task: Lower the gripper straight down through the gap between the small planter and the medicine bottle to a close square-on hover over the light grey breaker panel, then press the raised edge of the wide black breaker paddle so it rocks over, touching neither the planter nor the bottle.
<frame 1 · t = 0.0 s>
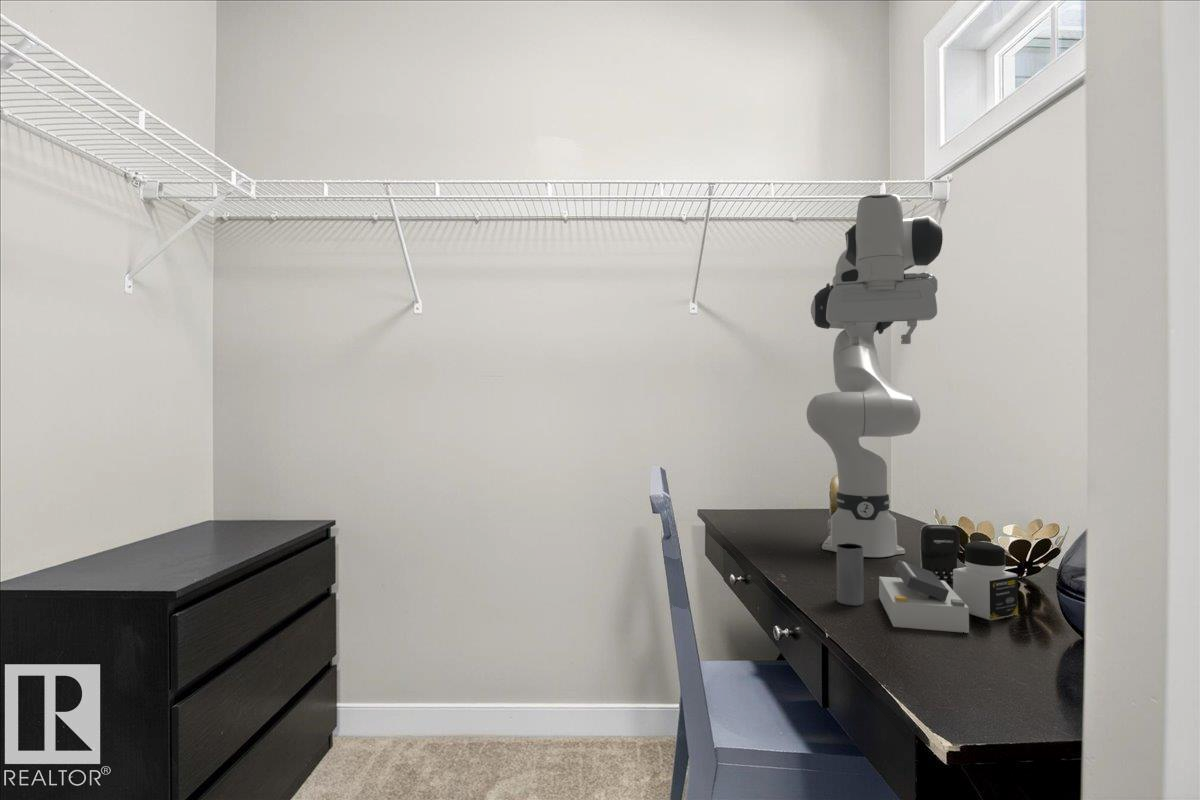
hand: (880, 344, 129), 48 cm above the table, tool pointing down, fingers open, 8 cm apart
paddle: (920, 578, 112), point 6 cm above the table, hinge at -18.0°
medicine bottle: (985, 613, 113), on the table
battery charger: (940, 582, 132), on the table
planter: (850, 603, 118), on the table
panel: (920, 613, 112), on the table
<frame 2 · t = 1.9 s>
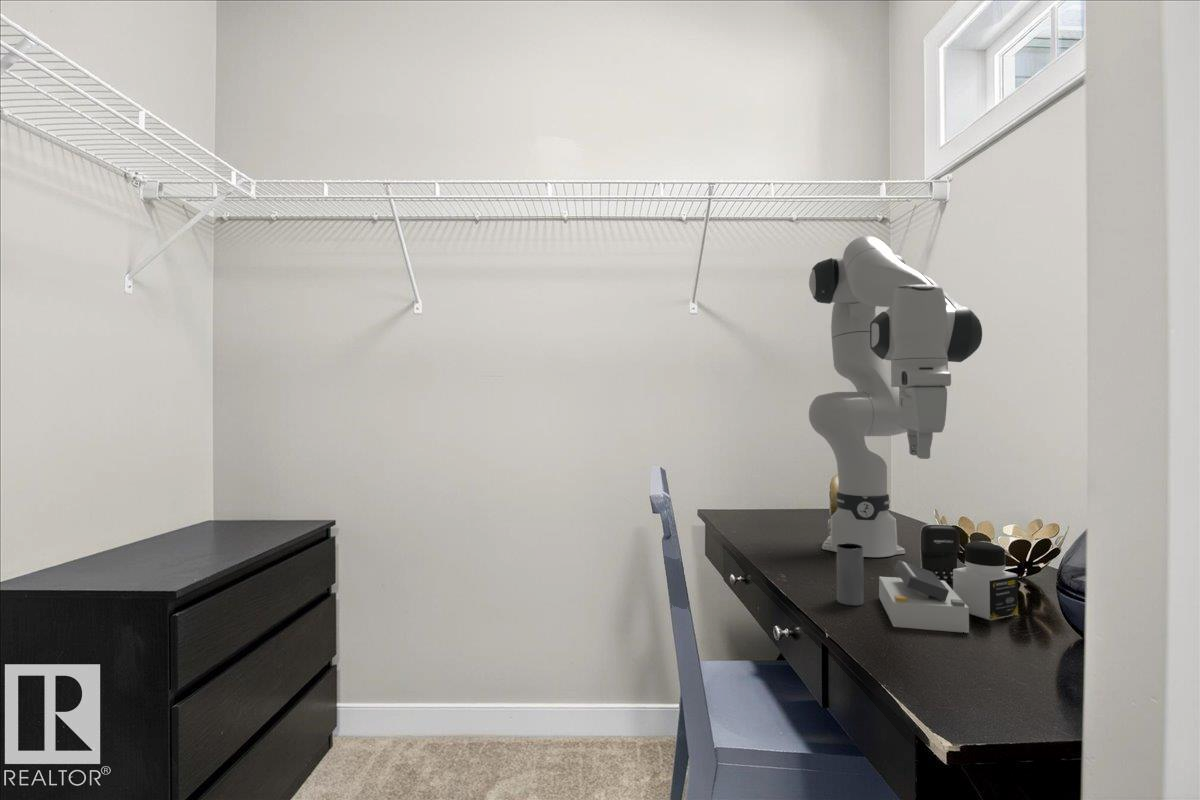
hand: (919, 456, 112), 27 cm above the table, tool pointing down, fingers open, 5 cm apart
nothing on the table moved.
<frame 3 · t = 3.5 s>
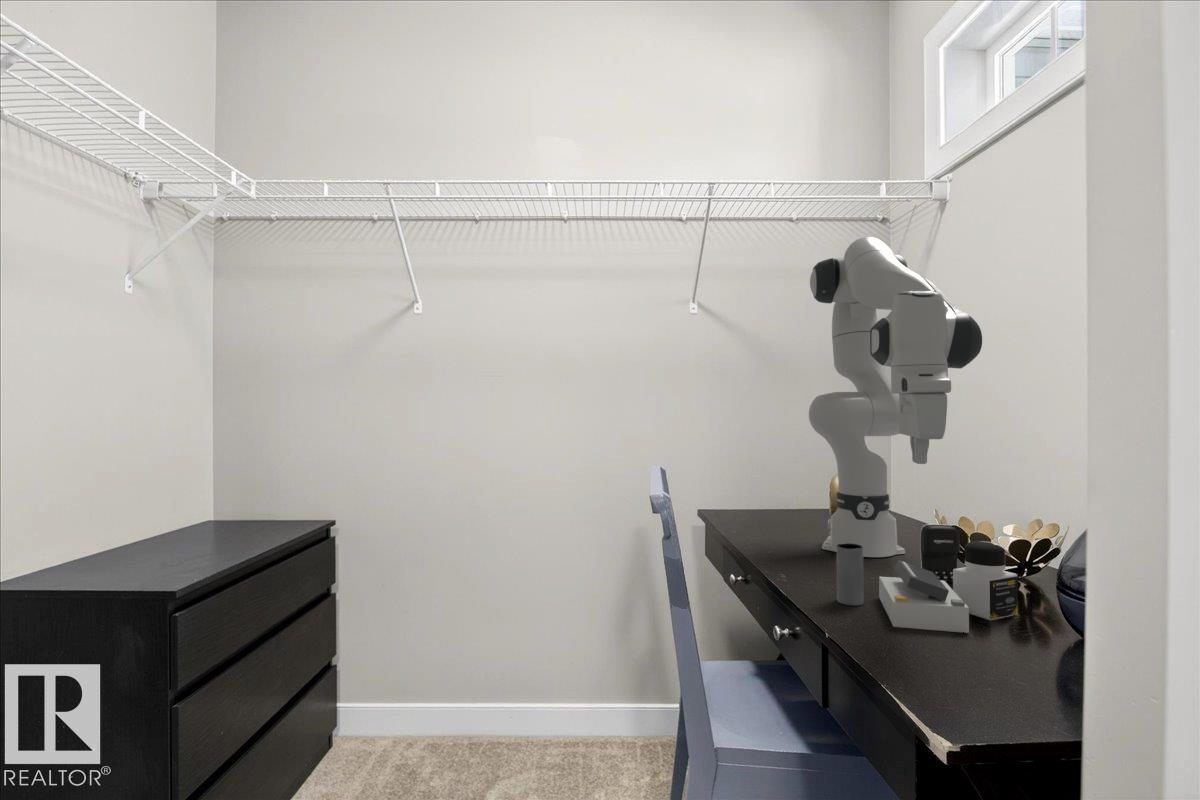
hand: (919, 463, 112), 26 cm above the table, tool pointing down, fingers closed
nothing on the table moved.
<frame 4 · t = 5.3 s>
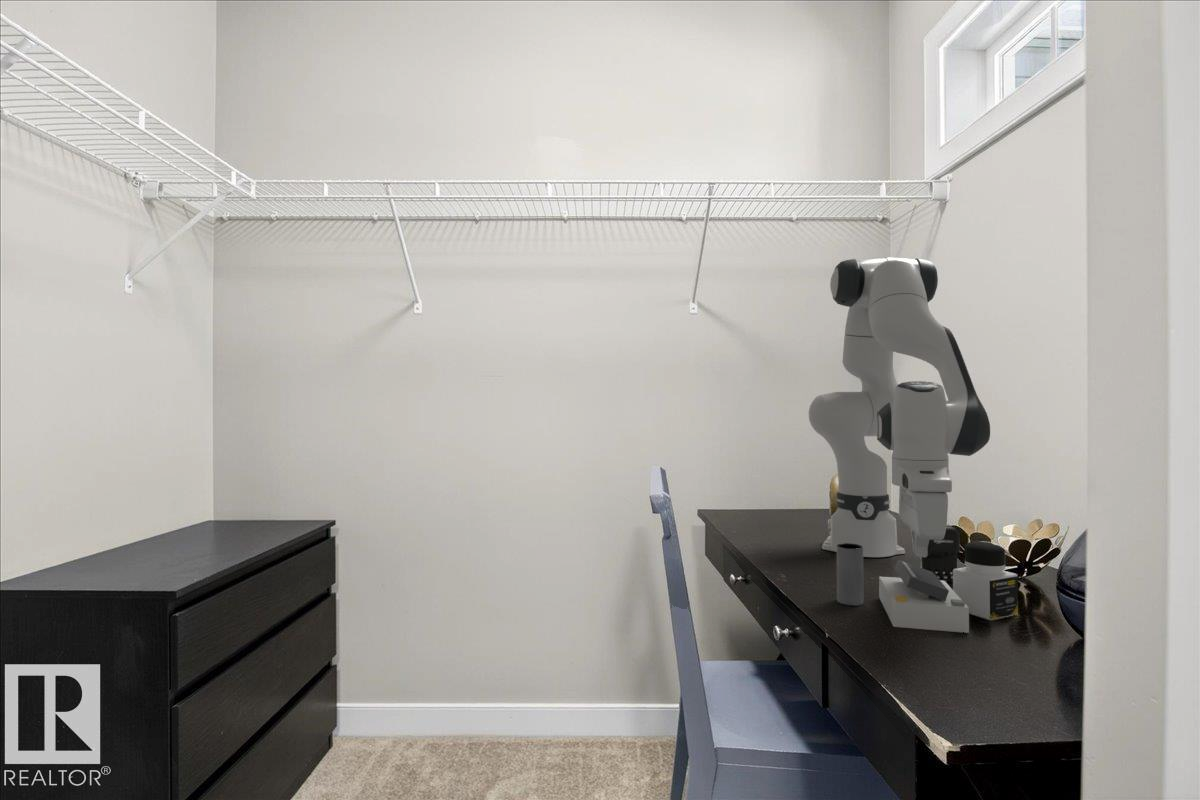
hand: (920, 555, 112), 10 cm above the table, tool pointing down, fingers closed
nothing on the table moved.
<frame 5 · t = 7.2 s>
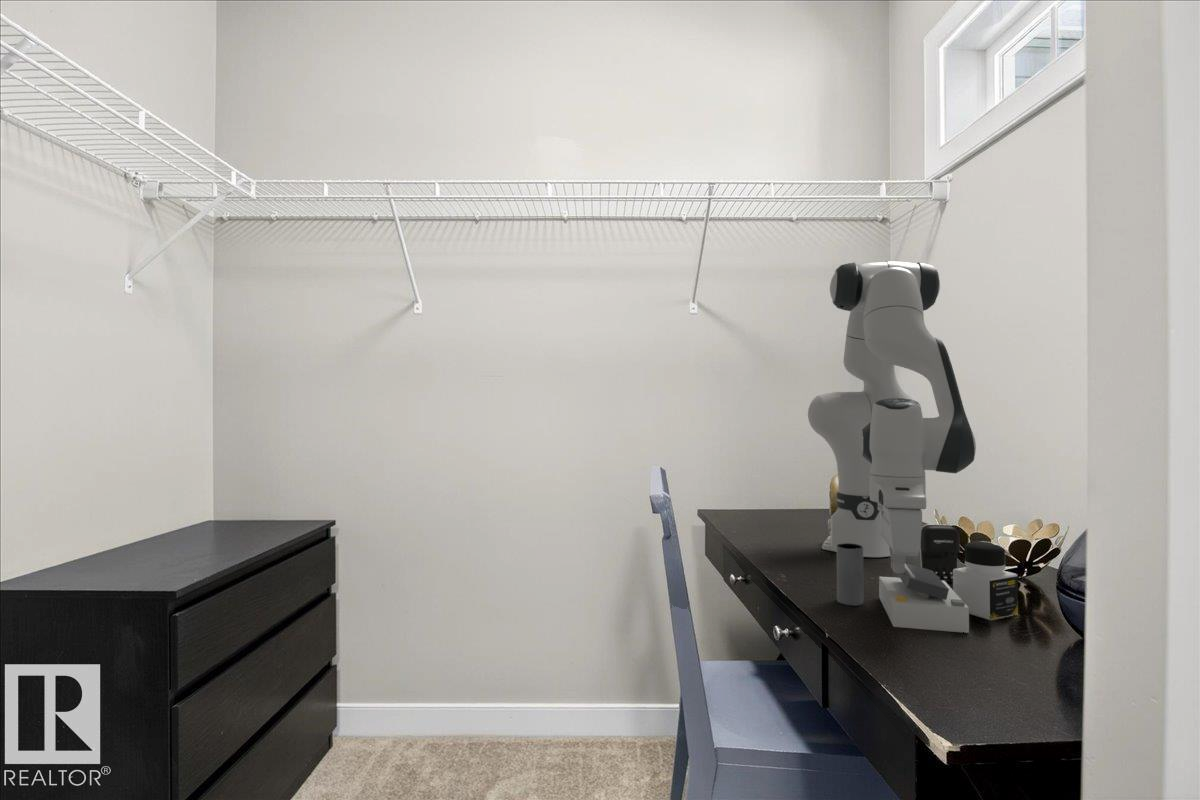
hand: (897, 571, 112), 7 cm above the table, tool pointing down, fingers closed, pressing on paddle
paddle: (920, 578, 112), point 6 cm above the table, hinge at -13.4°, touching gripper
everything else where it was.
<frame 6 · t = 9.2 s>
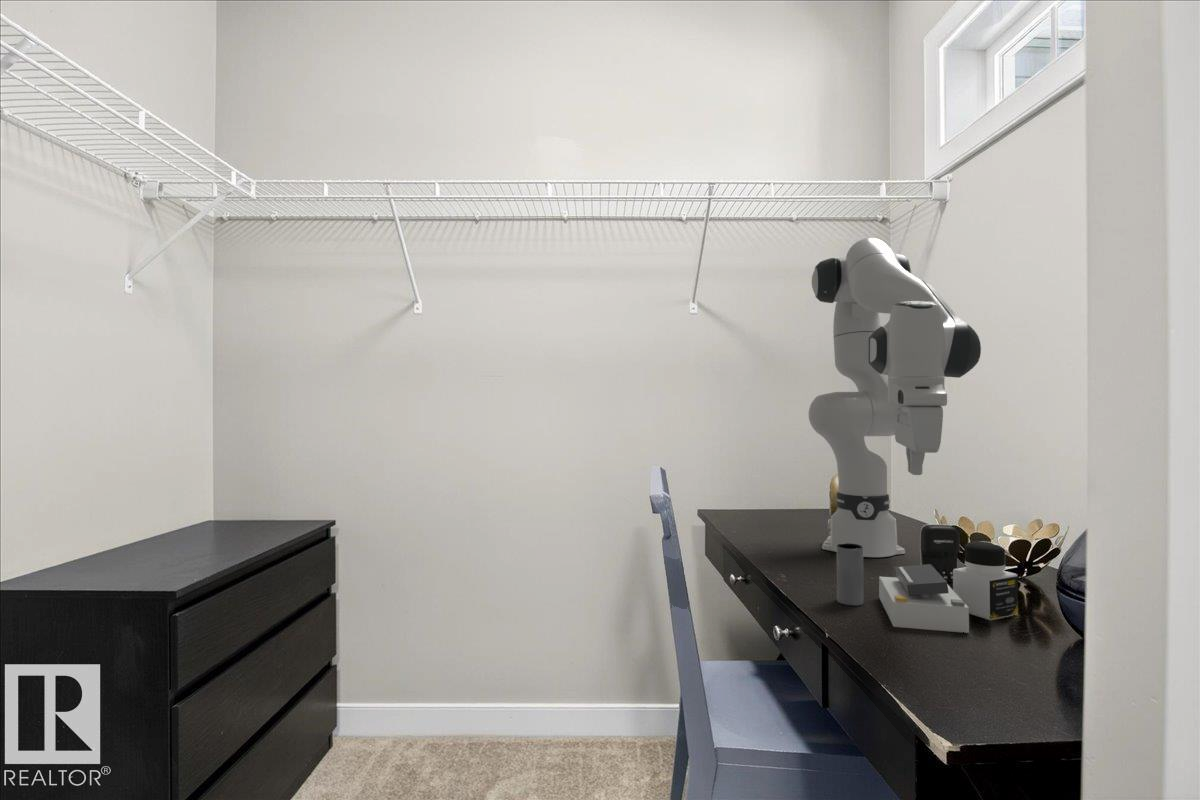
hand: (915, 474, 112), 24 cm above the table, tool pointing down, fingers closed
paddle: (920, 578, 112), point 6 cm above the table, hinge at 8.2°
everything else where it was.
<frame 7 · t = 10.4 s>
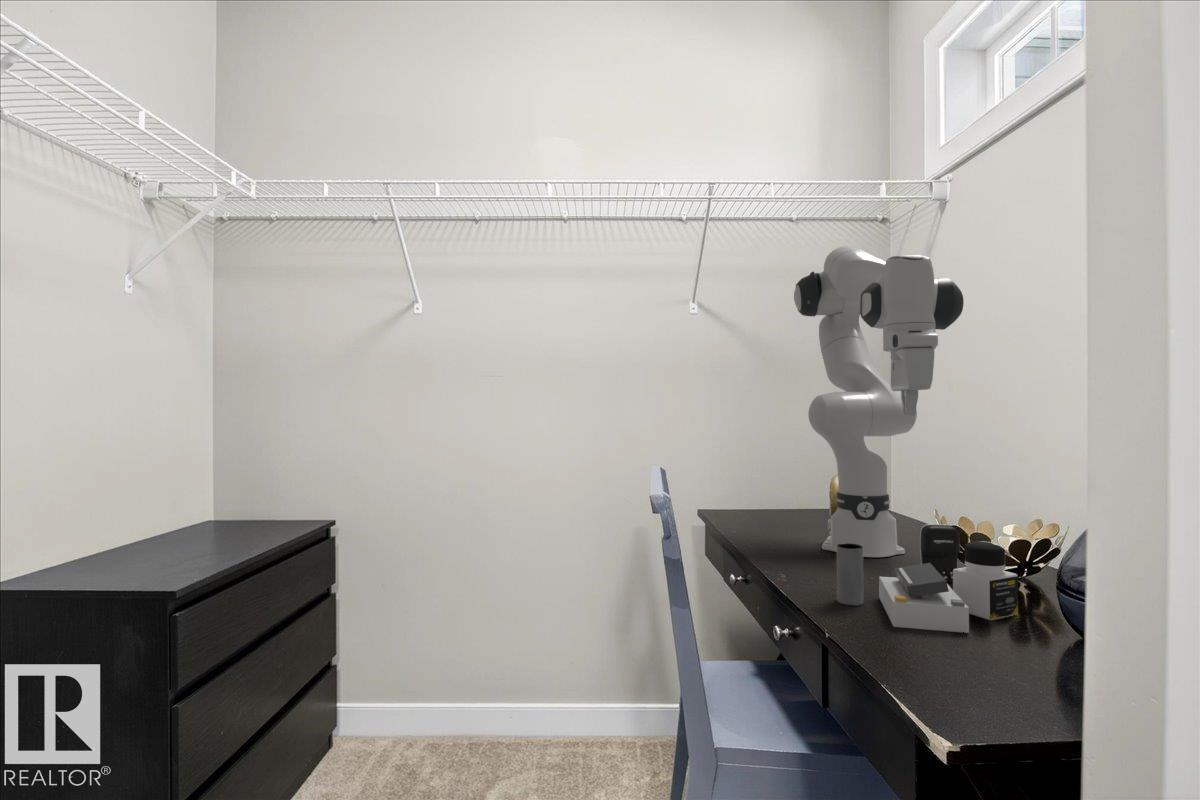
hand: (909, 415, 120), 34 cm above the table, tool pointing down, fingers closed
paddle: (920, 578, 112), point 6 cm above the table, hinge at 13.1°
everything else where it was.
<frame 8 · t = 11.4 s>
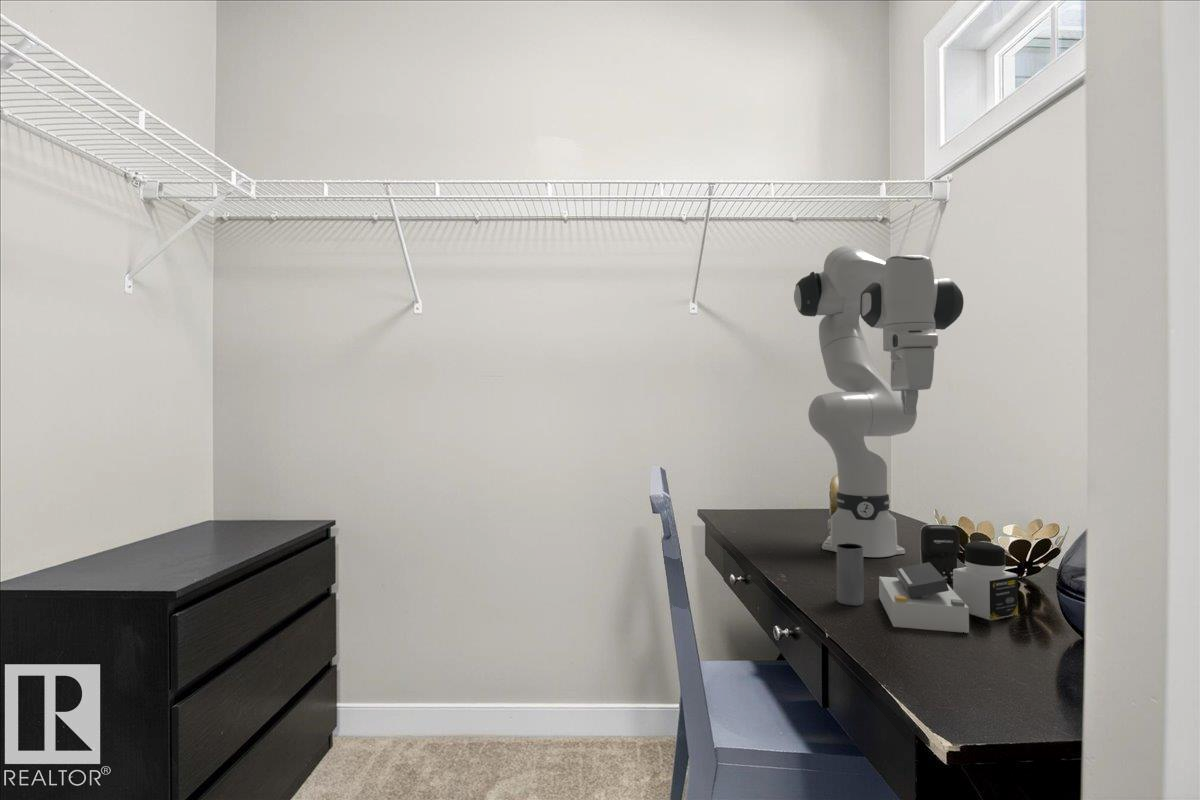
hand: (909, 415, 120), 34 cm above the table, tool pointing down, fingers closed
paddle: (920, 578, 112), point 6 cm above the table, hinge at 15.6°
everything else where it was.
at the end: paddle at +16° (first picture: -18°); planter moved 0.2 cm from its start; medicine bottle moved 0.2 cm from its start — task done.
